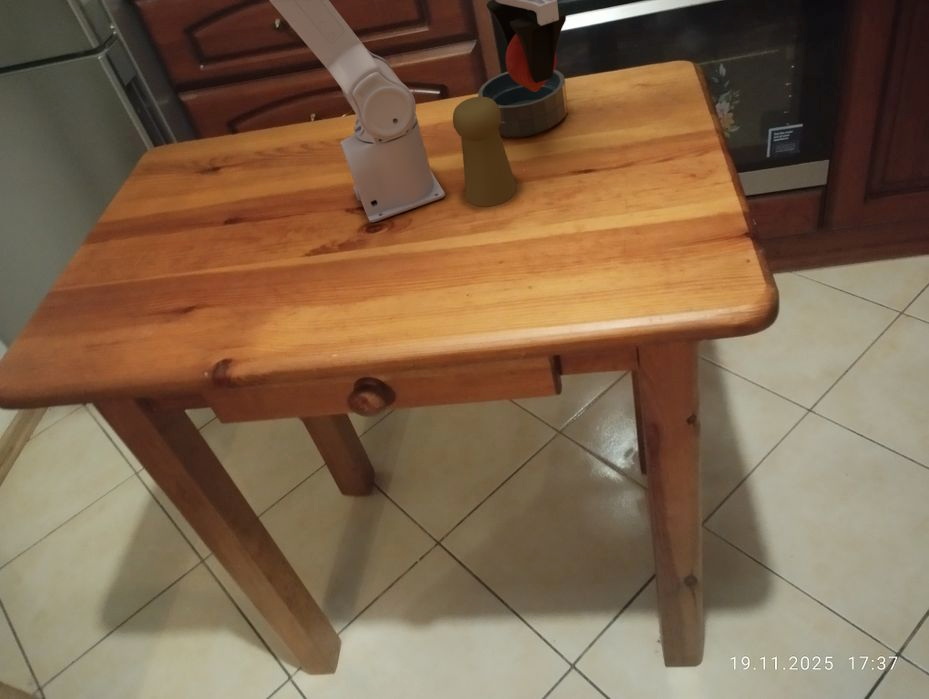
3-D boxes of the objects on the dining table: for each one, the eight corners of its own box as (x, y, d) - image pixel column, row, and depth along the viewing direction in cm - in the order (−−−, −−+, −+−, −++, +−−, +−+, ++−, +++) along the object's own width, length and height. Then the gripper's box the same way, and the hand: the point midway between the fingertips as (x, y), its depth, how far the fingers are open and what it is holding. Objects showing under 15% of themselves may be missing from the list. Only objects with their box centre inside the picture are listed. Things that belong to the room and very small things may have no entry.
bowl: (501, 149, 86) (495, 116, 82) (473, 116, 94) (466, 85, 90) (582, 121, 87) (579, 87, 83) (547, 90, 95) (543, 58, 91)
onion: (503, 90, 81) (492, 21, 76) (546, 74, 82) (538, 5, 77) (522, 107, 77) (512, 36, 72) (568, 90, 78) (561, 18, 72)
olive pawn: (457, 190, 81) (437, 103, 73) (502, 171, 82) (486, 83, 74) (479, 213, 76) (459, 122, 69) (526, 192, 77) (511, 101, 70)
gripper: (581, -59, 64) (591, 80, 73) (525, -85, 74) (540, 40, 84) (512, -37, 63) (531, 101, 73) (465, -66, 74) (487, 58, 83)
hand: (532, 70), depth 78 cm, fingers closed on onion, 6 cm apart
